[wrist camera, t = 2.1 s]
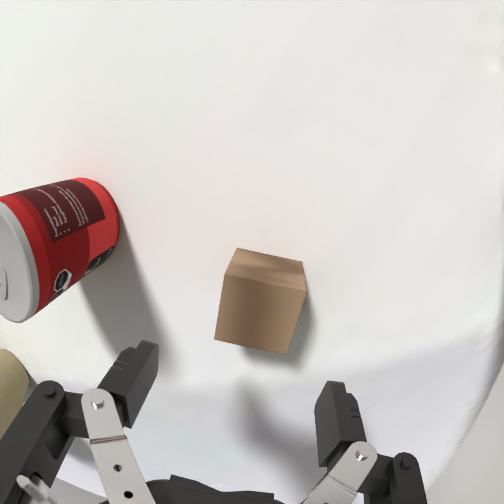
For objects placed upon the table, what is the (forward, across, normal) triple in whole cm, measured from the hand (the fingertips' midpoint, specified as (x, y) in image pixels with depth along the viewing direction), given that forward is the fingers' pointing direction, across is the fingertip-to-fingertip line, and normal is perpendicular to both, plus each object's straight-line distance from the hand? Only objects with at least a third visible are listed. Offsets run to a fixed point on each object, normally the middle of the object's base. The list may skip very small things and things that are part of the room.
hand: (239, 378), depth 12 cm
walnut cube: (+11, -1, 0) cm, 11 cm away
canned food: (+11, +15, -2) cm, 19 cm away
